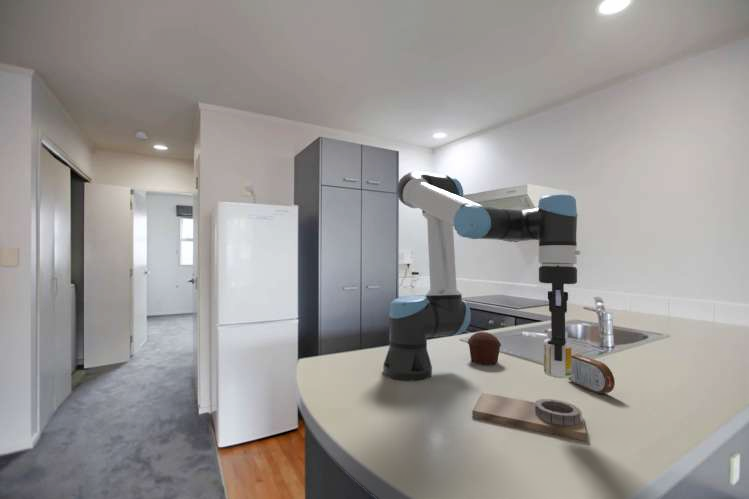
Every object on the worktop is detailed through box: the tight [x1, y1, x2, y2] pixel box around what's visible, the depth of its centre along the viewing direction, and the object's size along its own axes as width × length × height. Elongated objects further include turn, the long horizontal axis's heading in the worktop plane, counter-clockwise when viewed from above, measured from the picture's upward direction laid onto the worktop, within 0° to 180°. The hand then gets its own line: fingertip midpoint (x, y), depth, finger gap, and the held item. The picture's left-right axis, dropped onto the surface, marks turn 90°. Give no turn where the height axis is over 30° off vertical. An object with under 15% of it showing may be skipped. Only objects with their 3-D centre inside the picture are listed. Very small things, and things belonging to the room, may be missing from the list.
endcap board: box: [471, 392, 587, 442], centre depth 79 cm, size 22×12×4 cm, turn 64°
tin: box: [567, 353, 616, 395], centre depth 99 cm, size 15×3×8 cm, turn 15°
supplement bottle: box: [543, 328, 572, 379], centre depth 77 cm, size 5×5×10 cm
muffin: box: [467, 331, 502, 366], centre depth 123 cm, size 12×11×10 cm
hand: (557, 371), depth 77 cm, fingers closed on supplement bottle, 5 cm apart
